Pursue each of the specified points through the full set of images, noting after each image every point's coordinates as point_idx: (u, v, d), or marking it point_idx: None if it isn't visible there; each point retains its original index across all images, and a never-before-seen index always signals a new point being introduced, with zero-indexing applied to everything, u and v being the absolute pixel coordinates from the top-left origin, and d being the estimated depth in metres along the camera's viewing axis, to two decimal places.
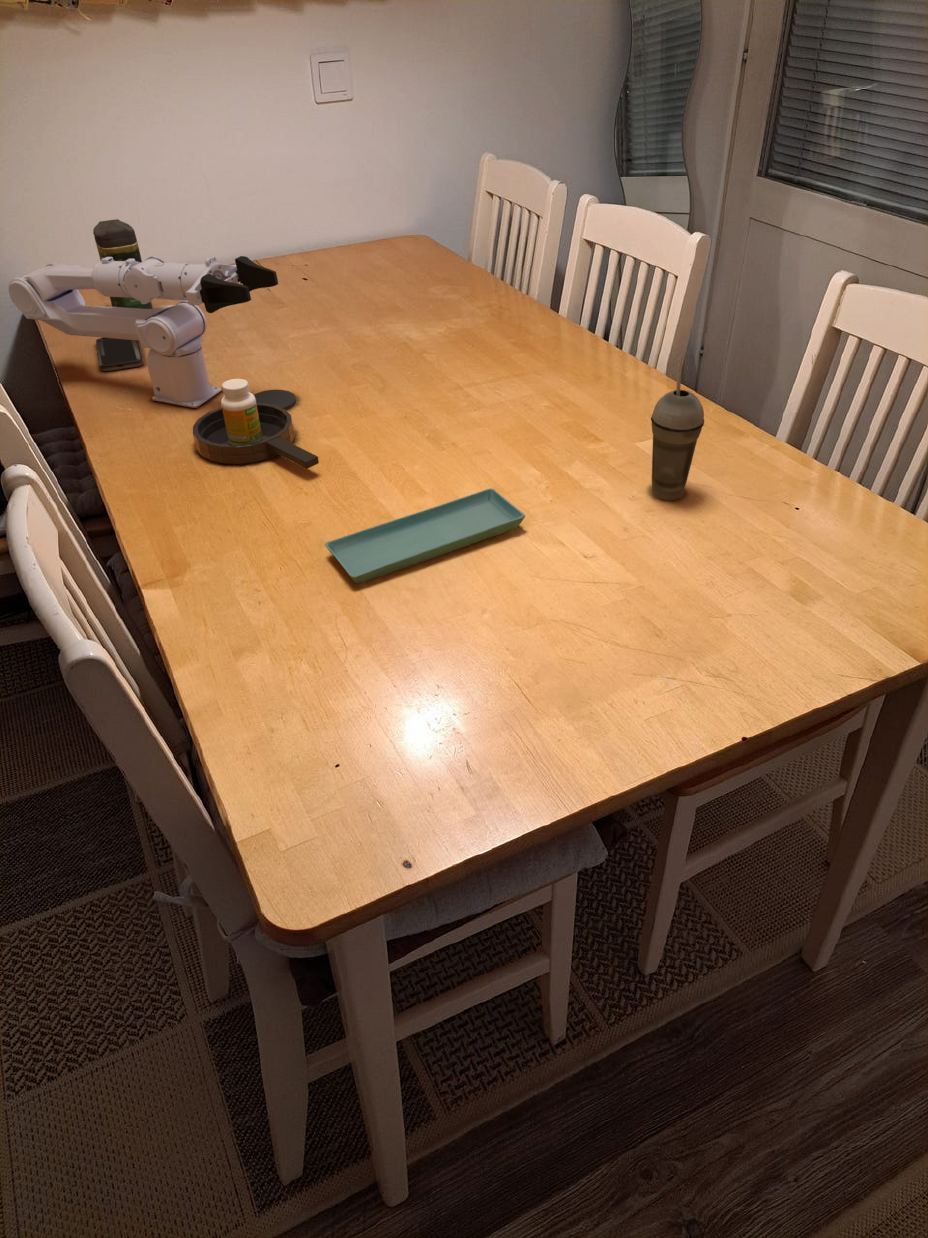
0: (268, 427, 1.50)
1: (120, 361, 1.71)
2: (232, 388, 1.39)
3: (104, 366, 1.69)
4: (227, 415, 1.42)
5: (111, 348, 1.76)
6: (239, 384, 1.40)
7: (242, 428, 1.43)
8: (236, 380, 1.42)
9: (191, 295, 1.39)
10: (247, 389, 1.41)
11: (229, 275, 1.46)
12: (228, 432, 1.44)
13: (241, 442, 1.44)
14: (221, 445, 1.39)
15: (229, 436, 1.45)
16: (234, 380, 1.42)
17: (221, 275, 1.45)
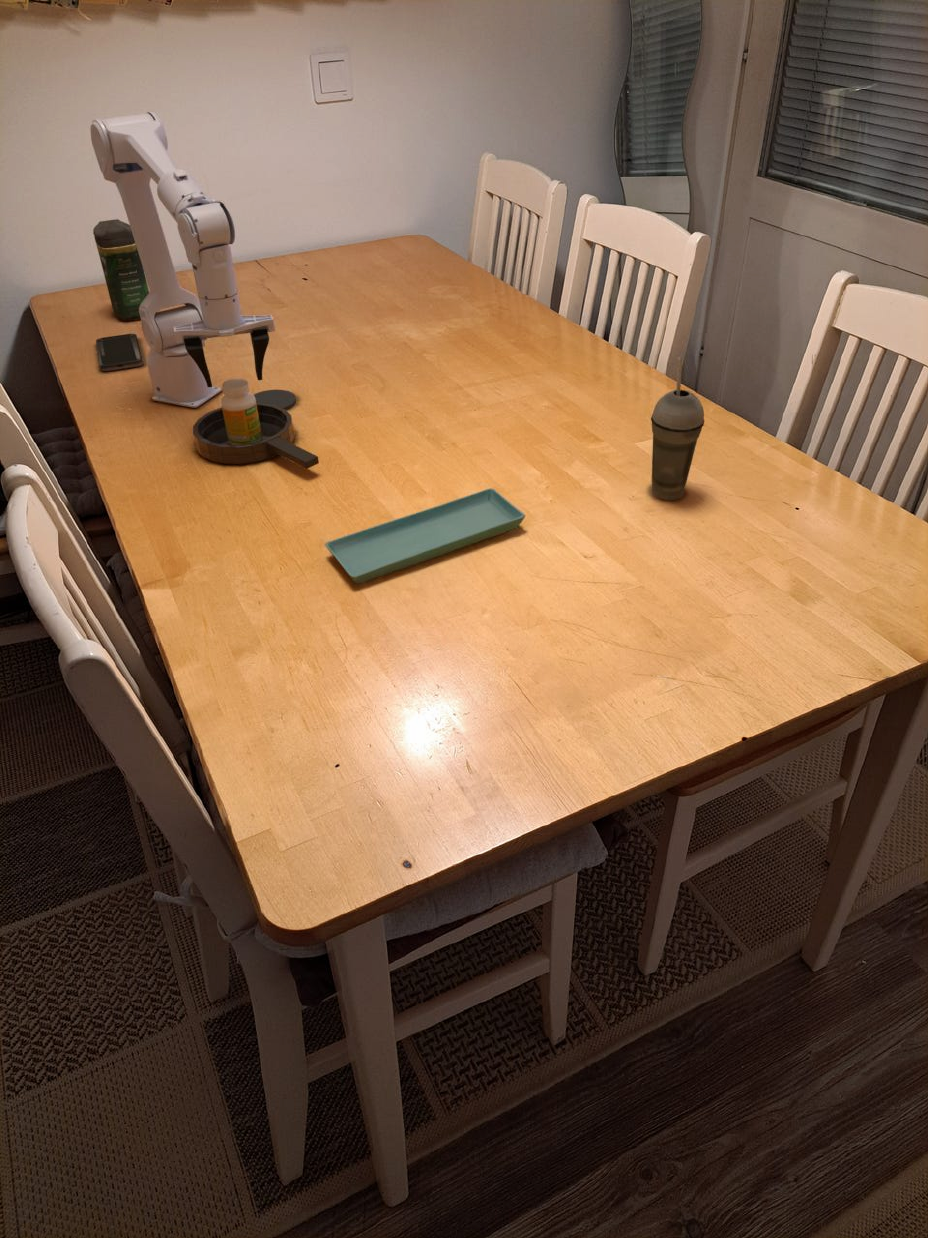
0: (268, 427, 1.50)
1: (120, 361, 1.71)
2: (232, 388, 1.39)
3: (104, 366, 1.69)
4: (227, 415, 1.42)
5: (111, 348, 1.76)
6: (239, 384, 1.40)
7: (242, 428, 1.43)
8: (236, 380, 1.42)
9: (175, 337, 1.34)
10: (247, 389, 1.41)
11: None
12: (228, 432, 1.44)
13: (241, 442, 1.44)
14: (221, 445, 1.39)
15: (229, 436, 1.45)
16: (234, 380, 1.42)
17: None
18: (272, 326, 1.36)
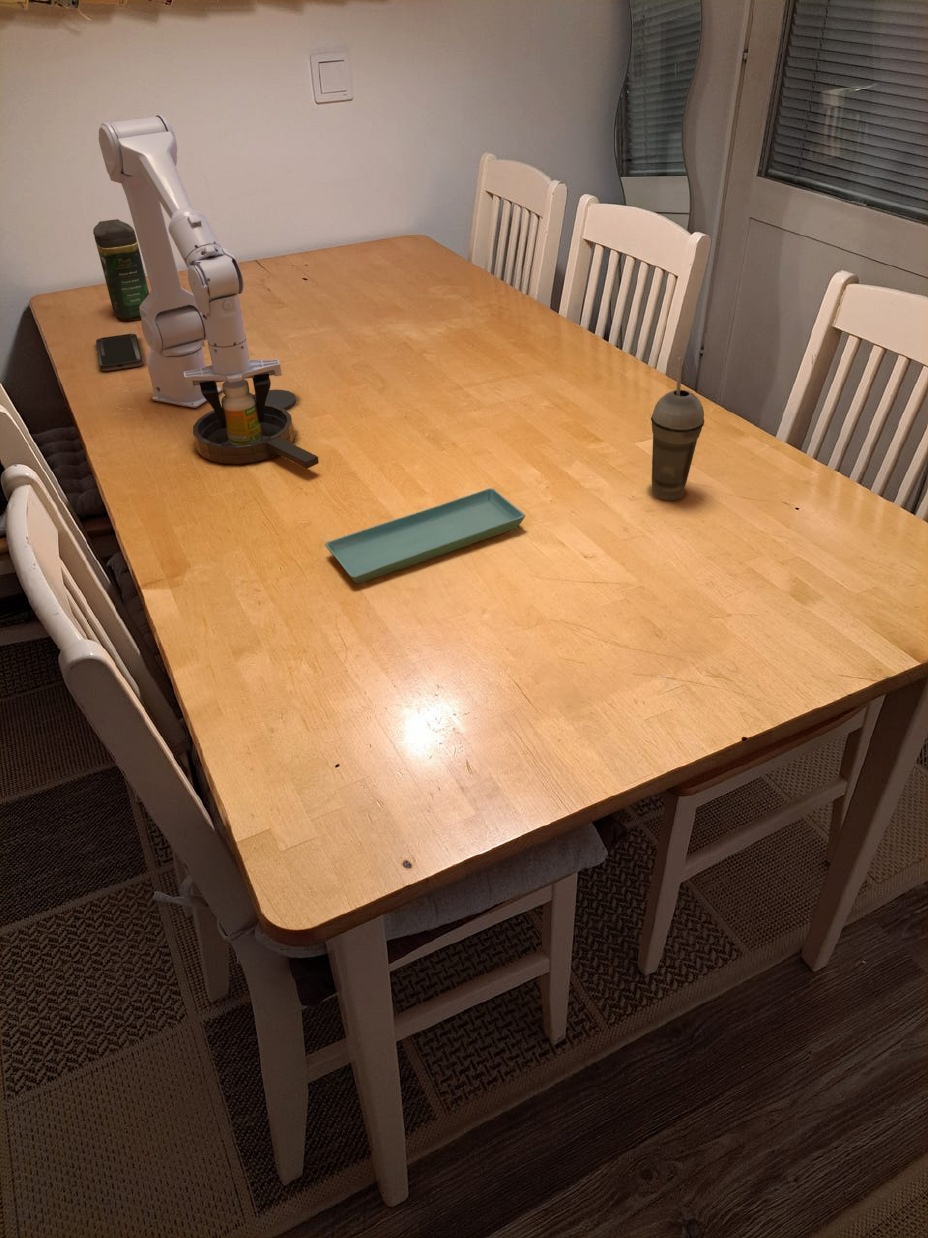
0: (268, 427, 1.50)
1: (120, 361, 1.71)
2: (232, 388, 1.39)
3: (104, 366, 1.69)
4: (227, 415, 1.42)
5: (111, 348, 1.76)
6: (240, 384, 1.40)
7: (242, 428, 1.43)
8: None
9: (185, 381, 1.38)
10: (247, 389, 1.41)
11: None
12: (228, 432, 1.44)
13: (241, 442, 1.44)
14: (221, 445, 1.39)
15: (229, 436, 1.45)
16: None
17: None
18: (279, 370, 1.41)
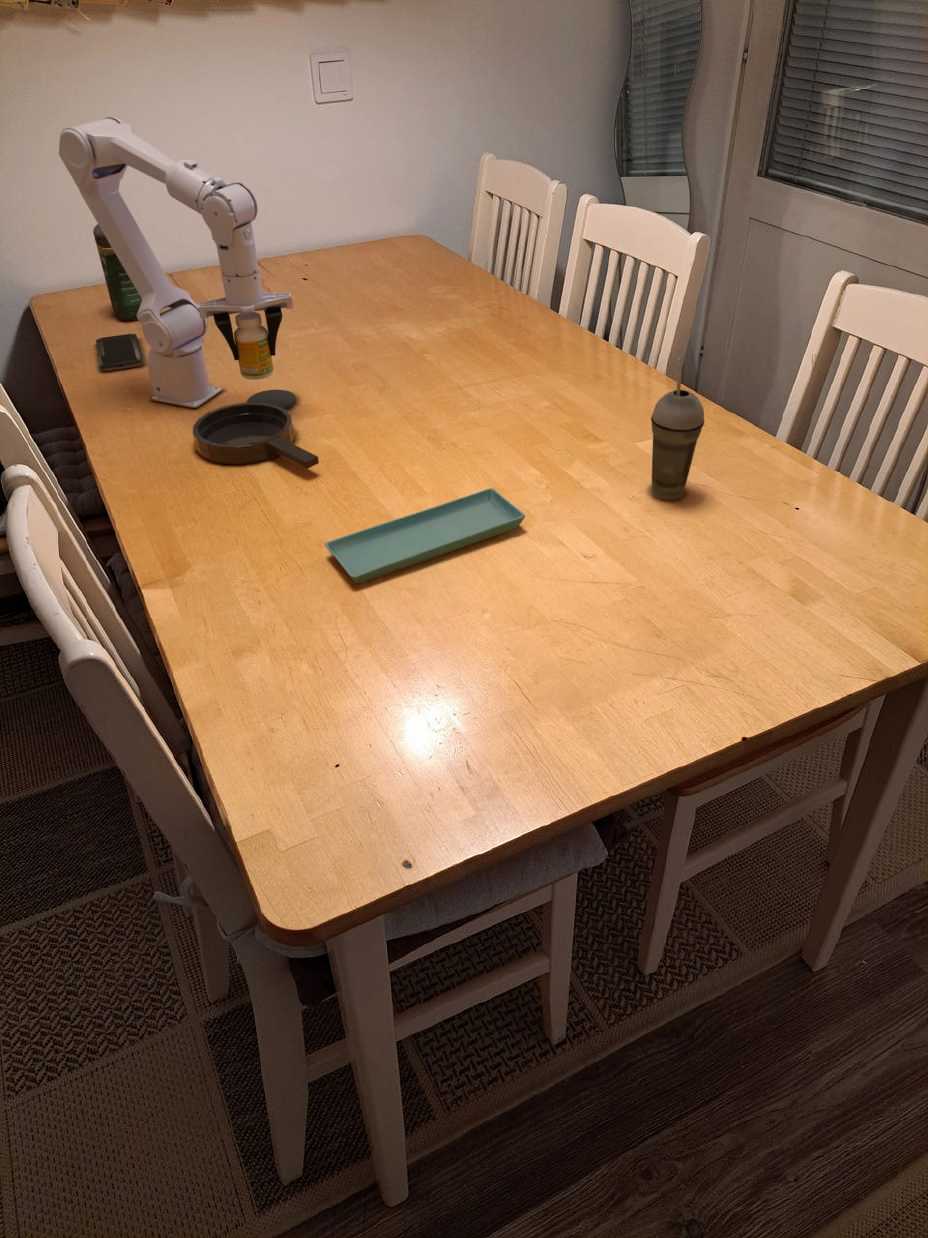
0: (268, 427, 1.50)
1: (120, 361, 1.71)
2: (245, 320, 1.43)
3: (104, 366, 1.69)
4: (240, 346, 1.45)
5: (111, 348, 1.76)
6: (252, 316, 1.44)
7: (254, 360, 1.46)
8: (249, 313, 1.45)
9: (199, 312, 1.42)
10: (259, 321, 1.44)
11: None
12: (240, 364, 1.48)
13: (253, 374, 1.48)
14: (221, 445, 1.39)
15: (241, 368, 1.48)
16: (247, 313, 1.45)
17: None
18: (290, 303, 1.44)
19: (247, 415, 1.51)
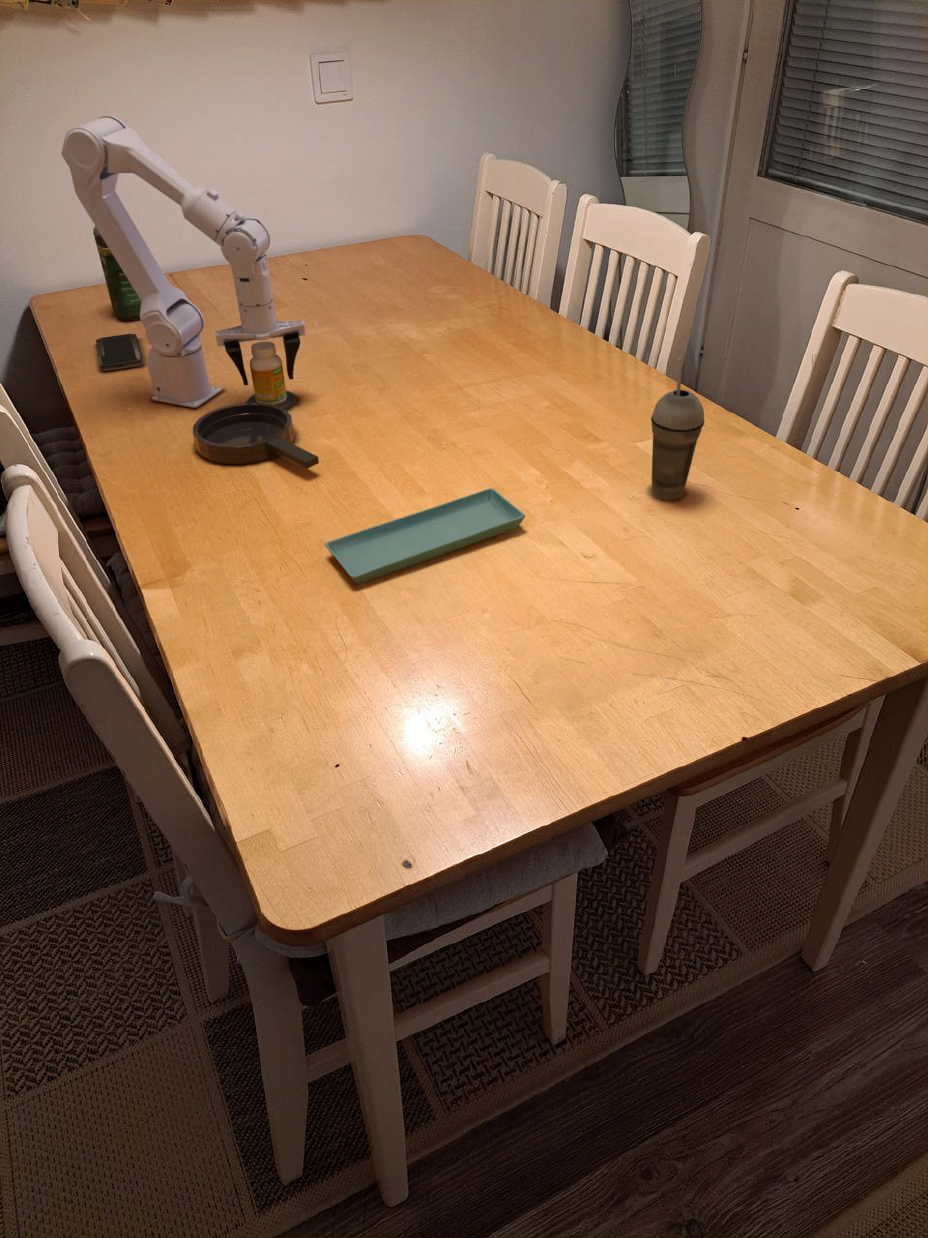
0: (268, 427, 1.50)
1: (120, 361, 1.71)
2: (260, 349, 1.50)
3: (104, 366, 1.69)
4: (255, 375, 1.53)
5: (111, 348, 1.76)
6: (267, 346, 1.52)
7: (269, 387, 1.54)
8: (264, 343, 1.53)
9: None
10: (274, 351, 1.52)
11: None
12: (256, 391, 1.55)
13: (268, 401, 1.55)
14: (221, 445, 1.39)
15: (257, 395, 1.56)
16: (262, 342, 1.53)
17: None
18: (303, 330, 1.51)
19: (247, 415, 1.51)
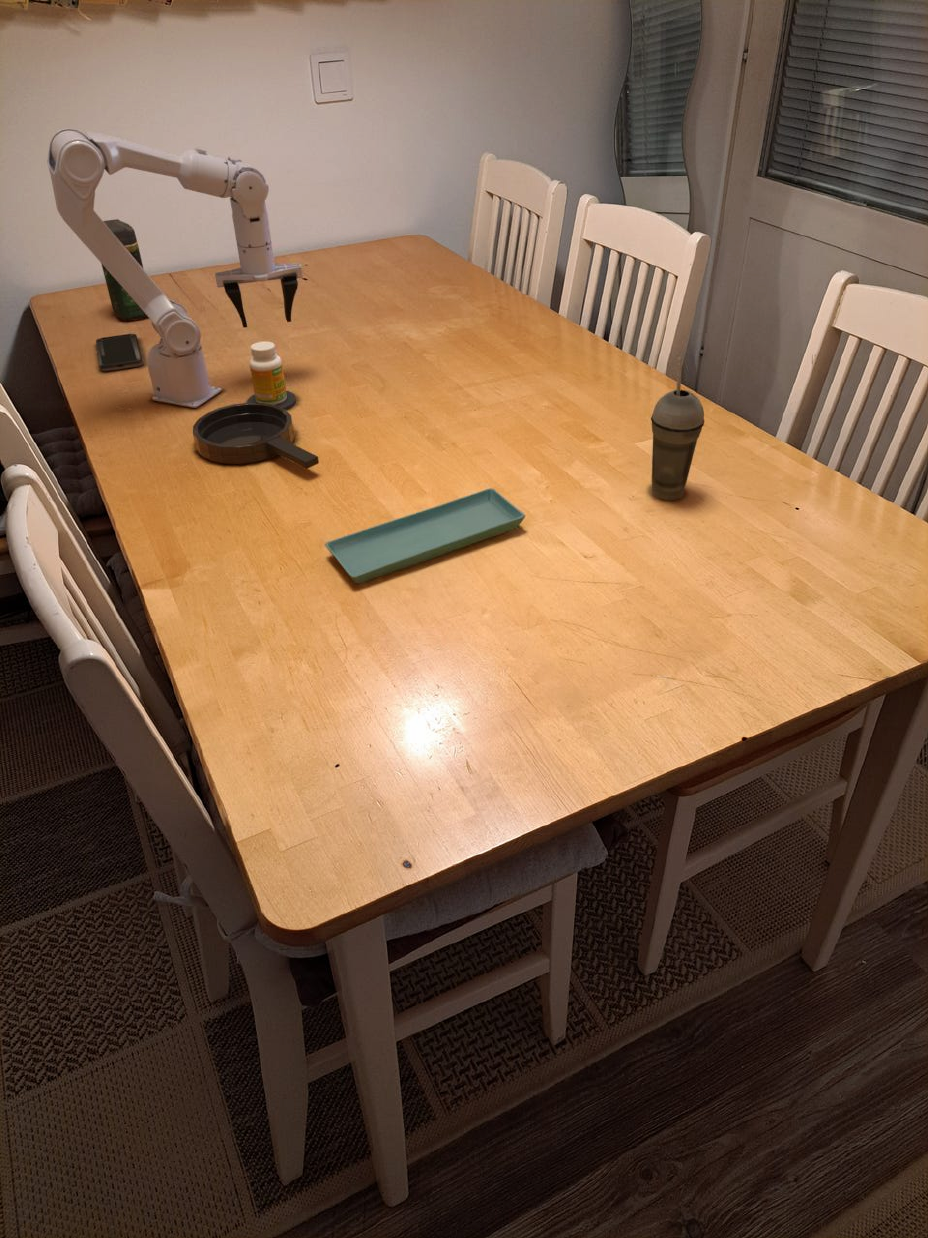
0: (268, 427, 1.50)
1: (120, 361, 1.71)
2: (260, 349, 1.50)
3: (104, 366, 1.69)
4: (255, 375, 1.53)
5: (111, 348, 1.76)
6: (267, 346, 1.52)
7: (269, 387, 1.54)
8: (264, 343, 1.53)
9: (216, 281, 1.53)
10: (274, 351, 1.52)
11: None
12: (256, 391, 1.55)
13: (268, 401, 1.55)
14: (221, 445, 1.39)
15: (257, 395, 1.56)
16: (262, 342, 1.53)
17: None
18: (300, 273, 1.56)
19: (247, 415, 1.51)
